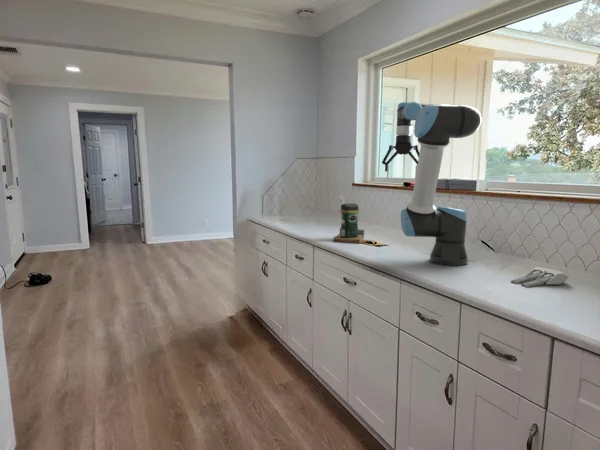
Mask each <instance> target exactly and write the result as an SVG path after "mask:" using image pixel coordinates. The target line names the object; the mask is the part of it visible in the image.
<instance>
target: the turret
mask: <svg viewBox="0 0 600 450" xmlns="http://www.w3.org/2000/svg"><path fill="white" fill-rule="evenodd" d="M569 277H570V276H569V275H567V274H566V273H564V272H563V271H561V270H556V269H552V268H551V269H550V268H546V267H540V266H536V267H534V268H532V270H530V272H529V273H527V274H526V275H525V276H521V277H517V278H514V279H512V280H510V283H512V284H515V285H517V284H520V286H521V287H525V288H532V287H534V286H550V285H552V286H553V285H561V284H564V283H565V282H566V281H567V280H568V279H569ZM528 281H529V282H528ZM521 283H522V284H521ZM539 284H540V285H539Z"/></svg>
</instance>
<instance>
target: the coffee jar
mask: <svg viewBox="0 0 600 450" xmlns="http://www.w3.org/2000/svg"><path fill="white" fill-rule="evenodd" d="M340 207H341V208H340V213H341V224H340V228H341V231H340V230H339V233H340V236H341V237H346V238H354V237H358V229H359V227H358V224H359V223H358V215H359V211H360V210H359V204H357V203H342V204H341V206H340Z"/></svg>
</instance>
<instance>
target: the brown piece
mask: <svg viewBox="0 0 600 450" xmlns="http://www.w3.org/2000/svg"><path fill="white" fill-rule="evenodd" d="M340 231H341V227H340V228H339V233H338V234H337V235H336V236H335V237H333V241H332V242H333V243H340V244H342V243H343V244H357V245H360V244H361V242H362V241H363V240H364V238H365V228H363V229H360V228H358V237H354V238H346V237H341V236H340Z"/></svg>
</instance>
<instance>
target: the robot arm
mask: <svg viewBox="0 0 600 450" xmlns="http://www.w3.org/2000/svg"><path fill="white" fill-rule="evenodd" d="M396 112H397V113H396V130H395V131H396V137H395V145H391V144H390V145H389V146H388V150H387V152H386V154H385V155H384V157H383V159H382V161H381V164H382V165H384V167H385V168H384V171H385V172H386V179H390V165H389V164H390V163H391V162H392V161H393V160H394V159H395V157H397V156H398V155H404V156H405V155H408V156H409V157H411V159H412V160H413V161H414V162H415V164H416V165H415V174H414V175H415V176H414V184H413V191H412V195H411V201H409V202H407V204H406V208H402V209H401V211H400V225H401V226H400V227H401V229H402V233H403V234H404V236H406V237H413V238H419V237H420V238H435V242H434V244H433V247H432V250H431V253H430V254H429V255H430V256H429V260H430V262H432V263H436V264H439V265H440V264H441V265H447V266H465V265H468V263H469V257H468V252H467V249H466V245H465V243H466V242H465V241H466V231H467V222H468V220H467V219H468V218H467V216H468V215H467V212H466V210H464V209H461V208H460V209H459V208H454V207H448V206H441V205H438V206H437V207H436V206H435V205H434V202H435V197H436V191H437V187H438V181H439V175H440V172H441V171H440V170H441V166H442V161H443V157H444V150H445V148H446V147H448V146H449V145H450V142H451V139H462V138H466V137H469V136H472V135H473V134H475V132H477V131H478V130H479V128H480V126H481V125H482V115H481V112H480V111H479V110H478V109H477V108H476V107H472V106H470V105H455V104H453V105H451V104H449V103H419V102H418V101H417V102H416V101H411V102H409V101H407V102H406V101H405V102H404V101H403V102H400V103H398V104H397V110H396ZM413 121H415V122H414V123H413ZM413 124H414V125H413ZM413 127H414V129H413ZM412 135H414V136H415V138H417V143H418V144H419V145H420V149H419V146H418V144H416V145H412V140H413V138H412V137H413V136H412ZM394 149H395V152H394V153H393V155H392V156H391V157H390V154H391V152H392V151H393V150H394ZM412 149H413V151H415V152H416V154H417V157H418V159H417V158H416V157H415V155H414V154H413V153H412V152H411V150H412ZM388 157H390V158H389V159H388Z"/></svg>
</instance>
